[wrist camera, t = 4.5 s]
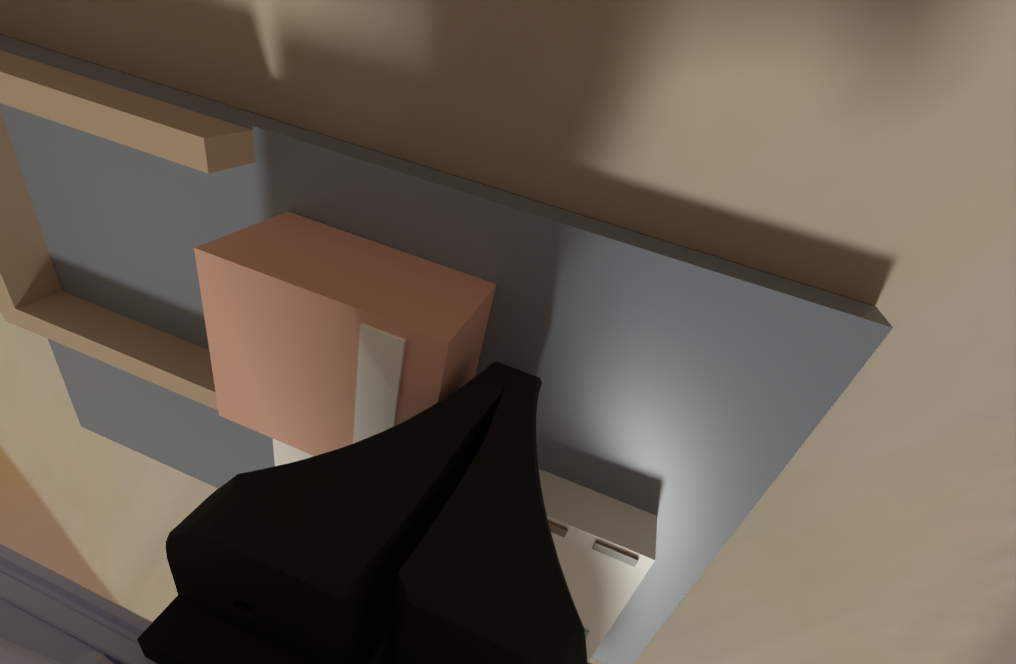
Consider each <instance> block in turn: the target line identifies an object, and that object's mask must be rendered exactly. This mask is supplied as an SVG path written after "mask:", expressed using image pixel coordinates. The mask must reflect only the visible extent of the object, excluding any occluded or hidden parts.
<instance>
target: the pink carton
mask: <svg viewBox="0 0 1016 664" xmlns="http://www.w3.org/2000/svg"><path fill="white" fill-rule="evenodd" d="M194 252H195V259H196V265H197V272H198V278H199V285H200V292H201V298H202V305H203V312H204V318H205V325H206V332H207V338H208V345H209V352H210V358H211V365H212V372H213V378H214V385H215V392H216V398H217V405H218V412H219V416H221V417H224V418H226V419H228V420H231V421H233V422H236V423H238V424H240V425H243V426H245V427H247V428H250V429H252V430H254V431H257V432H259V433H261V434H264V435H266V436H268V437H271V438H273V439H275V440H278V441H280V442H282V443H285V444H287V445H289V446H292V447H294V448H296V449H299V450H301V451H303V452H306V453H308V454H310V455H313V456H317V455H320V454H323V453H326V452H330V451H333V450H336V449H339V448H342V447H345V446H348V445H350V444H353V443H356V442H358V441H361V440H363V439H366V438H368V437H371V436H373V435H376V434H378V433H380V432H383V431H385V430H387V429H389V428H391V427H393V426H396V425H398V424H400V423H402V422H404V421H406V420H408V419H409V418H411V417H413V416H415V415H417V414H419V413H420V412H422V411H424V410H426V409H427V408H429V407H431V406H432V405H434V404H436V403H438V402H439V401H441V400H442V399H444V398H445V397H447V396H448V395H450V394H451V393H453V392H454V391H456V390H457V389H459V388H460V387H462V386H463V385H465V384H466V383H467V382H469V381H470V380H472V379H473V378H474V377H475V374H476V370H477V365H478V361H479V357H480V353H481V348H482V344H483V340H484V336H485V331H486V327H487V323H488V318H489V314H490V310H491V306H492V301H493V297H494V293H495V289H496V284H495V283H492V282H489V281H486V280H483V279H480V278H478V277H475V276H472V275H469V274H466V273H463V272H460V271H457V270H455V269H452V268H449V267H446V266H443V265H440V264H437V263H435V262H432V261H429V260H426V259H423V258H420V257H417V256H415V255H412V254H409V253H406V252H403V251H400V250H397V249H394V248H392V247H389V246H386V245H383V244H380V243H377V242H374V241H372V240H369V239H366V238H363V237H360V236H357V235H354V234H351V233H349V232H346V231H343V230H340V229H337V228H334V227H331V226H329V225H326V224H323V223H320V222H317V221H314V220H311V219H309V218H306V217H303V216H300V215H297V214H294V213H291V212H285V213H283V214H280V215H278V216H275V217H272V218H270V219H267V220H265V221H262V222H259V223H257V224H254V225H252V226H249V227H246V228H244V229H241V230H239V231H236V232H233V233H231V234H228V235H226V236H223V237H220V238H218V239H215V240H213V241H210V242H207V243H205V244H202V245H200V246H197V247H194Z"/></svg>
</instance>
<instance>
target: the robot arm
mask: <svg viewBox="0 0 1016 664" xmlns="http://www.w3.org/2000/svg"><path fill="white" fill-rule="evenodd" d="M541 385H542V381H541V379H540V378H539V377H537V376H534V375H531V374H529V373H526V372H523V371H521V370H518V369H515V368H513V367H510V366H507V365H505V364H502V363H499V362H494V363H492V364H490V365H489V366H488V367H487V368H486V369H484V370H483V371H482V372H481V373H479V374H478V375H477V376H476V377H474V378H473V379H472V380H470V381H469V382H467V383H466V384H465V385H463V386H462V387H460V388H459V389H457V390H456V391H454V392H453V393H451V394H450V395H448V396H447V397H445V398H444V399H442V400H441V401H439V402H438V403H436V404H434V405H432V406H431V407H429V408H427V409H426V410H424V411H422V412H420V413H419V414H417V415H415V416H413V417H411V418H409V419H408V420H406V421H404V422H402V423H400V424H398V425H396V426H393V427H391V428H389V429H387V430H385V431H383V432H380V433H378V434H376V435H373V436H371V437H368V438H366V439H363V440H361V441H358V442H356V443H353V444H350V445H348V446H345V447H342V448H339V449H336V450H333V451H330V452H326V453H323V454H320V455H317V456H313V457H310V458H307V459H303V460H300V461H296V462H292V463H288V464H283V465H279V466H274V467H269V468H265V469H260V470H256V471H251V472H246V473H240V474H237V475H235V476H234V477H233V478H232V479H231V480H229V481H228V482H227V483H225V484H224V485H223V486H221V487H220V488H219V489H217V490H216V491H215V492H214V493H213V494H211V495H210V496H209V497H208V498H207V499H206V500H205V501H204V502H202V503H201V504H200V505H199V506H198V507H197V508H196V509H195V510H194V511H193V512H192V513H191V514H189V515H188V516H187V517H186V518H185V519H184V520H183V521H182V522H181V523H180V524H179V525H178V526H177V527H175V528H174V529H173V530H172V531H171V532H170V533H169V536H168V538H167V541H166V553H167V559H168V562H169V566H170V569H171V572H172V575H173V579H174V582H175V585H176V588H177V592H178V596H177V597H176V598H175V599H174V600H173V601H172V602H171V603H170V605H169V606H168V607H167V608H166V609H165V610H164V611H163V612H162V613H161V614H160V615H159V616H158V617H157V618H156V619H155V620H154V622H151V621H149V620H147V619H145V618H143V617H141V616H139V615H137V614H135V613H134V612H132V611H130V610H128V609H126V608H124V607H122V606H120V605H118V604H116V603H114V602H112V601H110V600H108V599H106V598H104V597H102V596H100V595H99V594H97V593H95V592H93V591H91V590H89V589H87V588H85V587H83V586H81V585H79V584H77V583H75V582H73V581H72V580H70V579H67V578H66V577H64V576H62V575H60V574H58V573H56V572H54V571H52V570H50V569H48V568H46V567H44V566H43V565H41V564H39V563H37V562H35V561H33V560H31V559H29V558H27V557H25V556H23V555H21V554H19V553H17V552H15V551H13V550H11V549H10V548H8V547H6V546H4V545H2V544H0V664H588V663H587V649H586V638H585V629H584V626H583V624H582V621H581V619H580V617H579V614H578V612H577V609H576V607H575V604H574V602H573V599H572V596H571V594H570V591H569V588H568V586H567V583H566V580H565V577H564V574H563V571H562V568H561V565H560V562H559V559H558V556H557V552H556V548H555V545H554V541H553V538H552V534H551V530H550V527H549V523H548V519H547V514H546V510H545V505H544V500H543V495H542V489H541V483H540V476H539V468H538V457H537V443H536V413H537V402H538V395H539V391H540V388H541Z"/></svg>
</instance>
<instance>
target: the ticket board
mask: <svg viewBox="0 0 1016 664" xmlns="http://www.w3.org/2000/svg"><path fill="white" fill-rule="evenodd" d="M285 212H291V213H294V214H297V215H300V216H303V217H306V218H309V219H311V220H314V221H317V222H320V223H323V224H326V225H329V226H331V227H334V228H337V229H340V230H343V231H346V232H349V233H351V234H354V235H357V236H360V237H363V238H366V239H369V240H372V241H374V242H377V243H380V244H383V245H386V246H389V247H392V248H394V249H397V250H400V251H403V252H406V253H409V254H412V255H415V256H417V257H420V258H423V259H426V260H429V261H432V262H435V263H437V264H440V265H443V266H446V267H449V268H452V269H455V270H457V271H460V272H463V273H466V274H469V275H472V276H475V277H478V278H480V279H483V280H486V281H489V282H492V283H495V284H496V289H495V293H494V297H493V301H492V306H491V310H490V314H489V318H488V323H487V327H486V331H485V336H484V340H483V344H482V348H481V353H480V357H479V361H478V365H477V370H476V374H475V377H476V376H477V375H478V374H479V373H481V372H482V371H483V370H484V369H486V368H487V367H488V366H489V365H490V364H492V363H494V362H499V363H502V364H505V365H507V366H510V367H513V368H515V369H518V370H521V371H523V372H526V373H529V374H531V375H534V376H537V377H539V378H540V379H541V381H542V385H541V388H540V391H539V395H538V402H537V413H536V443H537V457H538V468H539V476H540V483H541V489H542V495H543V500H544V505H545V510H546V514H547V519H548V523H549V527H550V530H551V534H552V538H553V541H554V545H555V548H556V552H557V556H558V559H559V562H560V565H561V568H562V571H563V574H564V577H565V580H566V583H567V586H568V588H569V591H570V594H571V596H572V599H573V602H574V604H575V607H576V609H577V612H578V614H579V617H580V619H581V621H582V624H583V626H584V629H585V638H586V649H587V663H588V661H589V660H590V658H591V657H592V658H594V659H596V660H598V661H601V662H603V663H605V664H632V663H633V662H634V661H635V659H636V658H637V657H638V656H639V654H640V653H641V652H642V650H643V649H644V648H645V647H646V645H647V644H648V643H649V641H650V640H651V639H652V638H653V636H654V635H655V634H656V632H657V631H658V630H659V628H660V627H661V626H662V625H663V623H664V622H665V621H666V619H667V618H668V617H669V616H670V614H671V613H672V612H673V610H674V609H675V608H676V607H677V605H678V604H679V603H680V601H681V600H682V599H683V598H684V596H685V595H686V594H687V592H688V591H689V590H690V589H691V587H692V586H693V585H694V583H695V582H696V581H697V580H698V578H699V577H700V576H701V574H702V573H703V572H704V570H705V569H706V568H707V567H708V565H709V564H710V563H711V561H712V560H713V559H714V558H715V556H716V555H717V554H718V552H719V551H720V550H721V549H722V547H723V546H724V545H725V543H726V542H727V541H728V540H729V538H730V537H731V536H732V534H733V533H734V532H735V531H736V529H737V528H738V527H739V525H740V524H741V523H742V522H743V520H744V519H745V518H746V516H747V515H748V514H749V512H750V511H751V510H752V509H753V507H754V506H755V505H756V503H757V502H758V501H759V500H760V498H761V497H762V496H763V494H764V493H765V492H766V491H767V489H768V488H769V487H770V485H771V484H772V483H773V482H774V480H775V479H776V478H777V476H778V475H779V474H780V473H781V471H782V470H783V469H784V467H785V466H786V465H787V464H788V462H789V461H790V460H791V458H792V457H793V456H794V455H795V453H796V452H797V451H798V449H799V448H800V447H801V445H802V444H803V443H804V442H805V440H806V439H807V438H808V436H809V435H810V434H811V433H812V431H813V430H814V429H815V427H816V426H817V425H818V424H819V422H820V421H821V420H822V418H823V417H824V416H825V415H826V413H827V412H828V411H829V409H830V408H831V407H832V406H833V404H834V403H835V402H836V400H837V399H838V398H839V397H840V395H841V394H842V393H843V391H844V390H845V389H846V387H847V386H848V385H849V384H850V382H851V381H852V380H853V378H854V377H855V376H856V375H857V373H858V372H859V371H860V369H861V368H862V367H863V366H864V364H865V363H866V362H867V360H868V359H869V358H870V357H871V355H872V354H873V353H874V351H875V350H876V349H877V348H878V346H879V345H880V344H881V342H882V341H883V340H884V339H885V337H886V336H887V335H888V333H889V332H890V331H891V329H892V328H893V327H892V326H891V325H890V324H889V322H888V321H887V320H886V319H885V317H884V316H883V315H882V314H881V312H880V311H879V310H878V309H877V307H875V306H872V305H869V304H865V303H862V302H859V301H856V300H853V299H849V298H846V297H843V296H840V295H837V294H833V293H830V292H827V291H824V290H820V289H817V288H814V287H811V286H808V285H804V284H801V283H798V282H795V281H791V280H788V279H785V278H782V277H779V276H775V275H772V274H769V273H766V272H762V271H759V270H756V269H753V268H750V267H746V266H743V265H740V264H737V263H734V262H730V261H727V260H724V259H721V258H717V257H714V256H711V255H708V254H705V253H701V252H698V251H695V250H692V249H688V248H685V247H682V246H679V245H676V244H672V243H669V242H666V241H663V240H659V239H656V238H653V237H650V236H647V235H643V234H640V233H637V232H634V231H631V230H627V229H624V228H621V227H618V226H614V225H611V224H608V223H605V222H602V221H598V220H595V219H592V218H589V217H585V216H582V215H579V214H576V213H573V212H569V211H566V210H563V209H560V208H556V207H553V206H550V205H547V204H544V203H540V202H537V201H534V200H531V199H528V198H524V197H521V196H518V195H515V194H511V193H508V192H505V191H502V190H499V189H495V188H492V187H489V186H486V185H482V184H479V183H476V182H473V181H470V180H466V179H463V178H460V177H457V176H453V175H450V174H447V173H444V172H441V171H437V170H434V169H431V168H428V167H425V166H421V165H418V164H415V163H412V162H408V161H405V160H402V159H399V158H396V157H392V156H389V155H386V154H383V153H379V152H376V151H373V150H370V149H367V148H363V147H360V146H357V145H354V144H350V143H347V142H344V141H341V140H338V139H334V138H331V137H328V136H325V135H322V134H318V133H315V132H312V131H309V130H305V129H302V128H299V127H296V126H293V125H289V124H286V123H283V122H280V121H276V120H273V119H270V118H267V117H264V116H260V115H257V114H254V113H251V112H247V111H244V110H241V109H238V108H235V107H231V106H228V105H225V104H222V103H219V102H215V101H212V100H209V99H206V98H202V97H199V96H196V95H193V94H190V93H186V92H183V91H180V90H177V89H173V88H170V87H167V86H164V85H161V84H157V83H154V82H151V81H148V80H144V79H141V78H138V77H135V76H132V75H128V74H125V73H122V72H119V71H116V70H112V69H109V68H106V67H103V66H99V65H96V64H93V63H90V62H87V61H83V60H80V59H77V58H74V57H70V56H67V55H64V54H61V53H58V52H54V51H51V50H48V49H45V48H41V47H38V46H35V45H32V44H29V43H25V42H22V41H19V40H16V39H13V38H9V37H6V36H3V35H0V309H1V312H2V314H3V316H4V319H5V320H6V321H8V322H10V323H13V324H15V325H17V326H20V327H22V328H25V329H27V330H29V331H32V332H34V333H36V334H39V335H41V336H43V337H46V338H48V340H49V343H50V345H51V348H52V351H53V353H54V356H55V359H56V361H57V364H58V366H59V369H60V372H61V374H62V377H63V380H64V382H65V385H66V387H67V390H68V393H69V395H70V398H71V401H72V403H73V406H74V408H75V411H76V414H77V416H78V419H79V422H80V424H81V426H82V427H84V428H86V429H88V430H91V431H93V432H95V433H97V434H99V435H102V436H104V437H106V438H108V439H110V440H113V441H115V442H117V443H119V444H121V445H124V446H126V447H128V448H130V449H132V450H135V451H137V452H139V453H141V454H144V455H146V456H148V457H150V458H152V459H155V460H157V461H159V462H161V463H163V464H166V465H168V466H170V467H172V468H174V469H177V470H179V471H181V472H183V473H186V474H188V475H190V476H192V477H194V478H197V479H199V480H201V481H203V482H205V483H208V484H210V485H212V486H214V487H216V488H220V487H221V486H223V485H224V484H225V483H227V482H228V481H229V480H231V479H232V478H233V477H234V476H235V475H237V474H240V473H246V472H251V471H256V470H260V469H265V468H269V467H274V466H279V465H283V464H288V463H292V462H296V461H300V460H303V459H307V458H310V457H313V455H310V454H308V453H306V452H303V451H301V450H299V449H296V448H294V447H292V446H289V445H287V444H285V443H282V442H280V441H278V440H275V439H273V438H271V437H268V436H266V435H264V434H261V433H259V432H257V431H254V430H252V429H250V428H247V427H245V426H243V425H240V424H238V423H236V422H233V421H231V420H228V419H226V418H224V417H221V416H219V412H218V405H217V398H216V392H215V385H214V378H213V372H212V365H211V358H210V352H209V345H208V338H207V332H206V325H205V318H204V312H203V305H202V298H201V292H200V285H199V278H198V272H197V265H196V259H195V252H194V247H197V246H200V245H202V244H205V243H207V242H210V241H213V240H215V239H218V238H220V237H223V236H226V235H228V234H231V233H233V232H236V231H239V230H241V229H244V228H246V227H249V226H252V225H254V224H257V223H259V222H262V221H265V220H267V219H270V218H272V217H275V216H278V215H280V214H283V213H285Z"/></svg>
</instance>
